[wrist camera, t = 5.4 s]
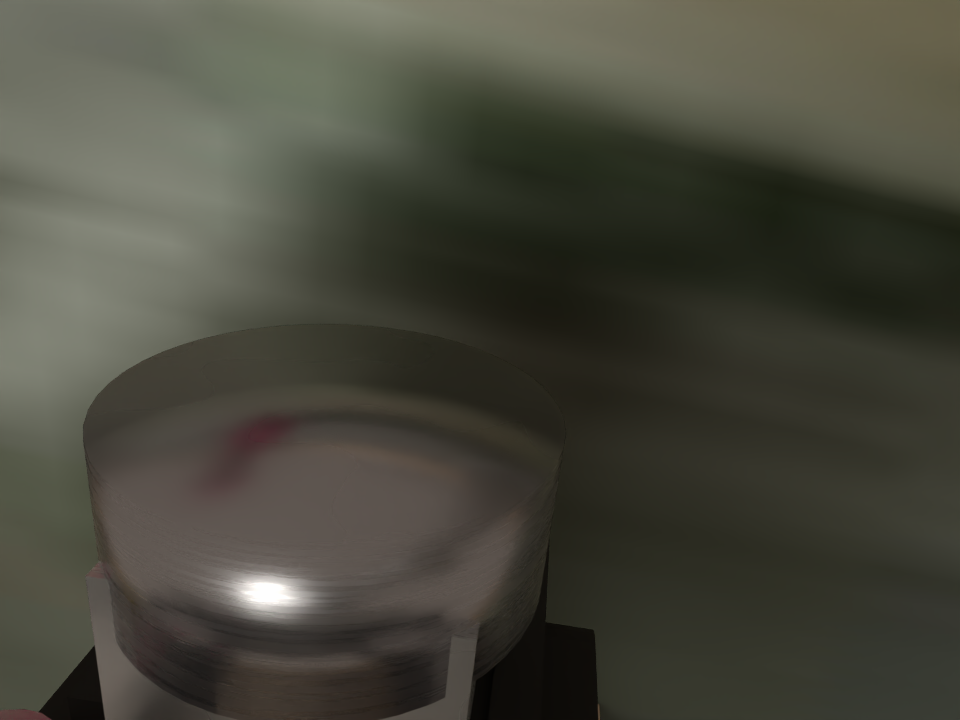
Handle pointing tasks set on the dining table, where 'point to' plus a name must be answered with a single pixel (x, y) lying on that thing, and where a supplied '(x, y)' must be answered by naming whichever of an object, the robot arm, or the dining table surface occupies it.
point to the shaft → (315, 524)
